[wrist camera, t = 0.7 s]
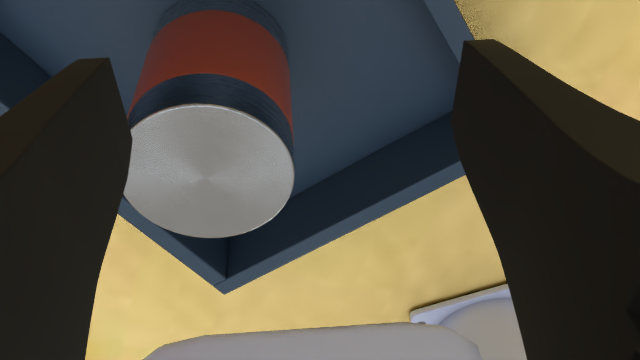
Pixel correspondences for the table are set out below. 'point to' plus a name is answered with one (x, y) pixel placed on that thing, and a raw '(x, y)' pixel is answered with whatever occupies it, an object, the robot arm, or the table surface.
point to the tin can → (212, 121)
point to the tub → (307, 110)
